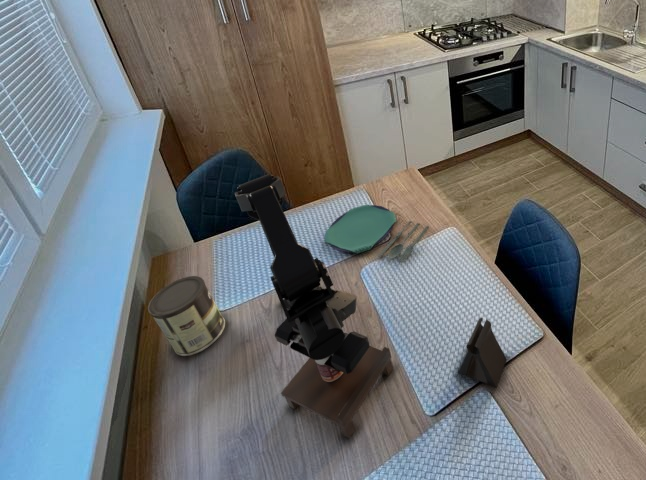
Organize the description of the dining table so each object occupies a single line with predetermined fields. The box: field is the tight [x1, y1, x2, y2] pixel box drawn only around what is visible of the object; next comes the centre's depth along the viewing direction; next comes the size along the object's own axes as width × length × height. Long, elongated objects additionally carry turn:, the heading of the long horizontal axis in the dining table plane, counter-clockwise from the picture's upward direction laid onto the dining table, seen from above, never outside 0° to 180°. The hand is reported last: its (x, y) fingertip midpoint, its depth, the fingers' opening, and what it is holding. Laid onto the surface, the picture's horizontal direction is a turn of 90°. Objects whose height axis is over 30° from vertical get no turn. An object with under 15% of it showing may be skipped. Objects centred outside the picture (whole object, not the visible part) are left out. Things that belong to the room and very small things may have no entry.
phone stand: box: [457, 317, 507, 388], centre depth 85 cm, size 9×6×12 cm, turn 70°
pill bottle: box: [315, 355, 343, 382], centre depth 82 cm, size 5×5×8 cm
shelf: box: [280, 345, 394, 440], centre depth 84 cm, size 16×14×7 cm
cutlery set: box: [324, 204, 430, 264], centre depth 123 cm, size 20×30×2 cm, turn 67°
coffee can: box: [147, 275, 226, 357], centre depth 94 cm, size 10×10×14 cm
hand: (331, 364), depth 82 cm, fingers closed on pill bottle, 5 cm apart
